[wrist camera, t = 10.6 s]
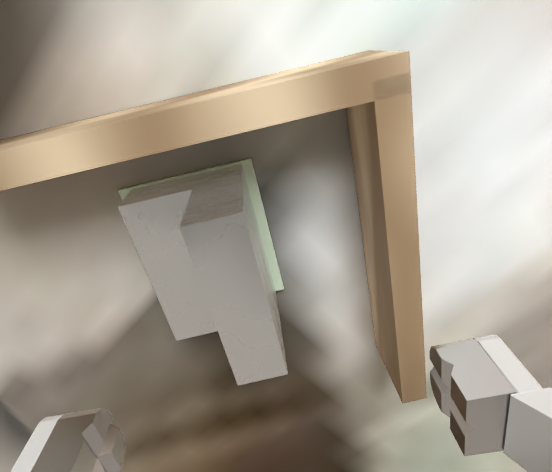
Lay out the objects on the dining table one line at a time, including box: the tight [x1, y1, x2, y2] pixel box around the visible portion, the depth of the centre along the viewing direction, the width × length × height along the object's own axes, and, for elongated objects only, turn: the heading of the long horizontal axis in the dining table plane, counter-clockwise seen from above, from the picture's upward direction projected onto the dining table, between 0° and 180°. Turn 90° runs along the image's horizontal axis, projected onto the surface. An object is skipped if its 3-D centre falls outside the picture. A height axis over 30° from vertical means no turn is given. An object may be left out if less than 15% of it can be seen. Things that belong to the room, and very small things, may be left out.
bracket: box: [118, 164, 288, 385], centre depth 16 cm, size 7×5×6 cm
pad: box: [118, 158, 284, 291], centre depth 18 cm, size 6×7×1 cm
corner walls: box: [0, 51, 427, 403], centre depth 17 cm, size 17×16×4 cm
